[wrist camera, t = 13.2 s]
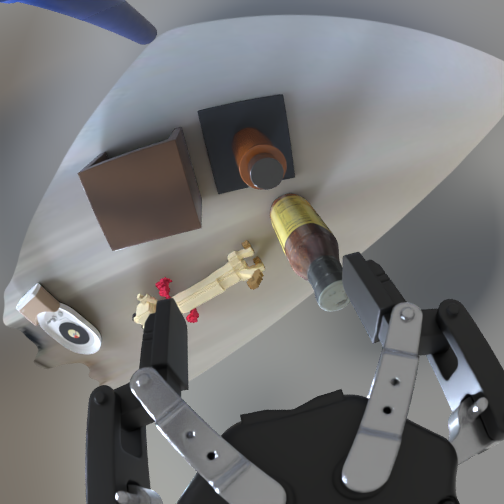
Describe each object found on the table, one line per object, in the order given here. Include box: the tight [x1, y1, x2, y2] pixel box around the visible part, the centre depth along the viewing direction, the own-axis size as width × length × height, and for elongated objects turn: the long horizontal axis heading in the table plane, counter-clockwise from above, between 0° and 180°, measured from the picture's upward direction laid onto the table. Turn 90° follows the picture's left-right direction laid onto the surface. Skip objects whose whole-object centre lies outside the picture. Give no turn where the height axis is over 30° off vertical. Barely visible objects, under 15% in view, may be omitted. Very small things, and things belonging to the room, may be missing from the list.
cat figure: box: [133, 240, 265, 329], centre depth 45 cm, size 10×9×25 cm
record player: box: [16, 283, 102, 354], centre depth 48 cm, size 12×3×20 cm
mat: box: [198, 94, 295, 194], centre depth 36 cm, size 12×11×1 cm
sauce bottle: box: [270, 193, 350, 311], centre depth 35 cm, size 6×6×20 cm
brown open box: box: [78, 127, 202, 251], centre depth 34 cm, size 11×12×8 cm
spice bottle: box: [231, 128, 287, 190], centre depth 31 cm, size 5×5×12 cm
